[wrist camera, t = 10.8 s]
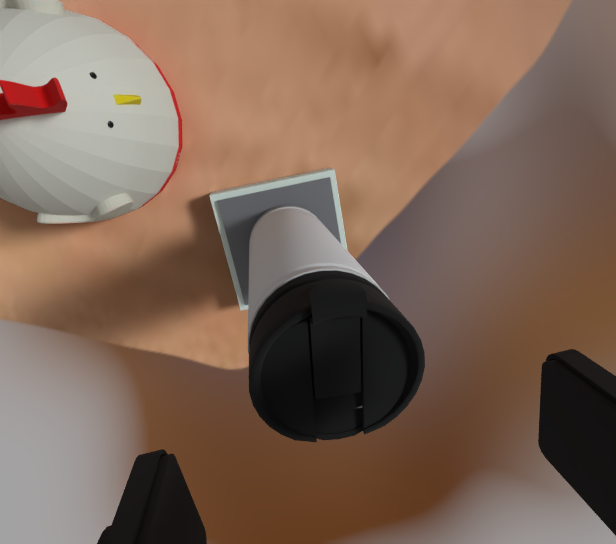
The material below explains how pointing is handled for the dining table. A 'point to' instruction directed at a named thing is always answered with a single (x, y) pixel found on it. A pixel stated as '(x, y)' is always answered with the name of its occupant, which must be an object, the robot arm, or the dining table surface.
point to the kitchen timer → (80, 116)
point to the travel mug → (322, 334)
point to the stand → (262, 197)
